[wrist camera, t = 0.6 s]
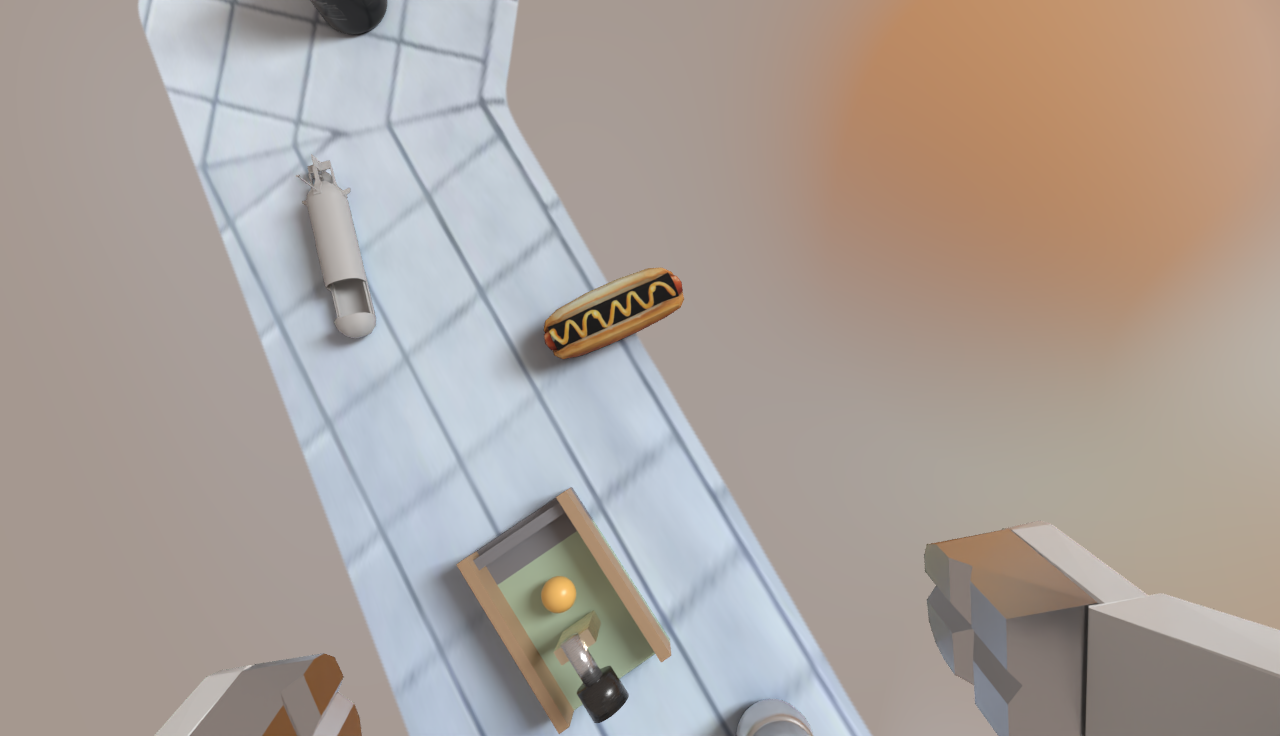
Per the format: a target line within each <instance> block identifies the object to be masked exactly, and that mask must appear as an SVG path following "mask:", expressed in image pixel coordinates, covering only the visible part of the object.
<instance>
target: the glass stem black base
mask: <svg viewBox="0 0 1280 736" xmlns="http://www.w3.org/2000/svg"><path fill="white" fill-rule="evenodd" d="M600 625H601V621H600V619H599V618H598V616H597V614H596V613H595V611H594V610H593V611H592V612H590V613H589V614H587V615H586V616H585V617H583V618H582V619H580V620H579V621H577V622H576V623H574V624H573V625H571V626H570V627H569V628H567V629H566V630H564V631H563V632H562V635H561V637H560V639H559V641H558V643H557V646H556V648H555V650H554V652H553V653H554V654H555V656H556V658H557V659H558V661H559V662H560V664H561V666H562V665H564V664H565V663H567V662H568V661H570V663H571V664H572V666H573V668H574V669H575V671H576V672H577V674H578V676H579V677H580V679H581V681H582V682H583V684H582V685H581V686H580V687H579V689H578V690H577V695H578V697H579V698H580V700H581V702H582V703H583V705H584V707H585V708H586V710H587V711H588V713H589V715H590V716H591V718H592V720H593V721H594V723H600V722H602V721H604V720H606V719H608V718H609V717H611V716H612V715H613V714H615V713H616V712H617V711H618V710H619V709H620V708H621V707H622V706H623V705H624V703H625V702H626V700H627V699H628V696H629V695H628V692H627V691H626V689H625V688H624V686H623V685H622V683H621V681H620V680H619V678H618V677H617V675H616V673H615V672H614V670H613V669H612V667H611V666H606V667H603V668H602V669H600V668H599V666H598V665H597V663H596V662H595V660H594V658H593V657H592V655H591V654H590V652H589V650H588V649H587V648H588V647H590V646H591V645H593V644H594V643H596V640H597V637H598V633H599V629H600Z"/></svg>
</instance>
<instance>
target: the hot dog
mask: <svg viewBox="0 0 1280 736" xmlns="http://www.w3.org/2000/svg"><path fill="white" fill-rule="evenodd" d="M683 300H684V297H683V292H682V283H681V281H680V280H679V278H678V277H677V276H674V275H673V273H672V272H670V271H668V270H665V269H663V268H648V269H645V270H642V271H640V272H637V273H634V274H631V275H628V276H625V277H622V278H619V279H617V280H614V281H612V282H610V283H608V284H605V285H603V286H601V287H599V288H597V289H594V290H592V291H590V292H588V293H586V294H584V295H582V296H580V297H578V298H577V299H575V300H573V301H571V302H570V303H568V304H566V305H564V306H563V307H561V308H559V309H557V310H556V311H555V312H554V313H553V314H552V315H551V316H550V317H549V318H548V319H547V320H546V322H545V326H544V332H545V334H544V338H545V344H546V345H547V346H548V347H549V348H550V349H551V350H553V352H554V355H555V356H557V357H559V358H562V359H566V358H572V357H577V356H581V355H584V354H587V353H589V352H592V351H594V350H597V349H599V348H602V347H605V346H607V345H610V344H612V343H614V342H616V341H619V340H621V339H623V338H625V337H627V336H630V335H632V334H634V333H636V332H638V331H640V330H642V329H644V328H646V327H648V326H650V325H652V324H654V323H656V322H658V321H659V320H661V319H663V318H665V317H667V316H668V315H670V314H671V313H673V312H674V311H676V310H677V309H679V308H680V307H681V305H682V302H683Z"/></svg>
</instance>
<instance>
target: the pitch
mask: <svg viewBox="0 0 1280 736" xmlns="http://www.w3.org/2000/svg"><path fill="white" fill-rule="evenodd" d="M456 565H457V566H458V568H459V570H460V571H461V573H462V575H463V576H464V578H465V580H466V581H467V583H468V585H469V586H470V588H471V590H472V591H473V593H474V595H475V596H476V598H477V599H478V601H479V603H480V604H481V606H482V608H483V609H484V611H485V613H486V614H487V616H488V618H489V619H490V621H491V623H492V624H493V626H494V628H495V629H496V631H497V632H498V634H499V636H500V637H501V639H502V641H503V642H504V644H505V646H506V647H507V649H508V651H509V652H510V654H511V656H512V657H513V659H514V661H515V662H516V664H517V665H518V667H519V669H520V670H521V672H522V674H523V675H524V677H525V679H526V680H527V682H528V684H529V685H530V687H531V689H532V690H533V692H534V694H535V695H536V697H537V698H538V700H539V702H540V703H541V705H542V707H543V708H544V710H545V712H546V713H547V715H548V717H549V718H550V720H551V722H552V723H553V725H554V727H555V728H556V730H557V731H558V733H559V734H560V733H561V732H563V731H564V730H566V729H567V728H568V727H570V723H571V719H572V716H573V712H574V710H575V709H577V708H578V707H579V706H581V705H582V704H583V703H582V702H581V700H580V698H579V697H578V695H577V690H578V689H579V687H580V686H581V685H582V684H583V682H582V681H581V679H580V677H579V676H578V674H577V672H576V671H575V669H574V668H573V666H572V664H571V663H570V661H568V662H567V663H565V664H564V665H562V666H561V664H560V662H559V661H558V659H557V658H556V656H555V654H554V653H553V652H554V650H555V648H556V646H557V643H558V641H559V639H560V637H561V635H562V632H563V631H564V630H566V629H567V628H569V627H570V626H571V625H573V624H574V623H576V622H577V621H579V620H580V619H582V618H583V617H585V616H586V615H587V614H589V613H590V612H592V611H593V610H594V611H595V613H596V614H597V616H598V618H599V619H600V621H601V625H600V629H599V633H598V637H597V640H596V643H594V644H593V645H591V646H590V647H588V648H587V649H588V650H589V652H590V654H591V655H592V657H593V658H594V660H595V662H596V663H597V665H598V666H599V668H600V669H602V668H603V667H606V666H611V667H612V669H613V670H614V672H615V673H616V675H617V677H618V678H621V677H622V676H624V675H625V674H627V673H628V672H629V671H631V670H632V669H634V668H635V667H637V666H638V665H639V664H641V663H642V662H644V661H645V660H647V659H648V658H650V657H651V656H652V655H654V654H656V655H657V657H658V658H659V660H660V661H661V662H663V661H664V660H665V659H667V658H668V657H670V656H671V648H670V639H669V638H668V636H667V635H666V633H665V631H664V630H663V628H662V627H661V625H660V624H659V622H658V621H657V619H656V617H655V616H654V614H653V613H652V611H651V610H650V608H649V607H648V605H647V603H646V602H645V600H644V599H643V597H642V596H641V594H640V593H639V591H638V589H637V588H636V586H635V585H634V583H633V582H632V580H631V579H630V577H629V575H628V574H627V572H626V571H625V569H624V568H623V566H622V565H621V563H620V561H619V560H618V558H617V557H616V555H615V554H614V552H613V551H612V549H611V547H610V546H609V544H608V543H607V541H606V540H605V538H604V536H603V535H602V533H601V532H600V530H599V529H598V527H597V526H596V524H595V522H594V521H593V519H592V518H591V516H590V515H589V513H588V512H587V510H586V508H585V507H584V505H583V504H582V502H581V501H580V499H579V498H578V496H577V494H576V493H575V491H574V490H573V488H572V487H571V488H570V489H568V490H566V491H565V492H563V493H562V494H560V495H559V496H557V497H556V498H555V499H553V500H552V501H550V502H549V503H548V504H546V505H545V506H543V507H542V508H540V509H539V510H537V511H536V512H534V513H533V514H531V515H530V516H528V517H527V518H525V519H524V520H522V521H521V522H519V523H518V524H516V525H515V526H513V527H512V528H510V529H509V530H507V531H506V532H504V533H503V534H502V535H500V536H499V537H497V538H496V539H494V540H493V541H491V542H490V543H488V544H487V545H485V546H484V547H482V548H481V549H479V550H478V551H476V552H475V553H473V554H472V555H470V556H468V557H467V558H465V559H464V560H462V561H461V562H459V563H458V564H456ZM556 576H564V577H566V578H568V579H570V580H571V581H572V582H573V584H574V586H575V588H576V599H575V602H574V604H573V605H572V607H571V608H570V609H569V610H567V611H565V612H563V613H553V612H550V611H549V610H547V609H546V608H545V606H544V605H543V603H542V600H541V591H542V588H543V586H544V584H545V583H546V582H547V581H548V580H549V579H551V578H553V577H556Z"/></svg>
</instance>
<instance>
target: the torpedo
mask: <svg viewBox="0 0 1280 736" xmlns="http://www.w3.org/2000/svg"><path fill="white" fill-rule="evenodd" d="M311 157H312V161H313V165H311V166H308V171H309V174H308V175H309V179H310V183H311V185H310V184H309V183H308V182H306V181H305V180H304V179H302V178H301V177H300V175H296V177H299V178H300V179H301V180H303V181H304V182H305V183H307V184H308V185H309V186H311V190H310V191H309V193H308V194H307V201H302V203H303V204H304V205H307V207H308V211H309V215H310V220H311V224H312V228H313V233H314V237H315V242H316V248H317V252H318V257H319V261H320V266H321V270H322V274H323V279H324V283H325V287H326V289H327V290H329V291H331V292H332V296H333V300H334V305H335V309H336V313H337V318H338V319H336V320H335V321H334V323H335V325H336V327H337V329H338V330H339V331H340V332H341V333H342V334H344V335H345V336H347V337H350V338H361V337H364V336H366V335H369V334H371V333H372V331H373V329H374V328H375V326H376V316H375V312H374V307H373V303H372V299H371V295H370V291H369V286H368V282H367V278H366V274H365V270H364V266H363V261H362V257H361V253H360V249H359V245H358V240H357V236H356V232H355V228H354V224H353V220H352V215H351V211H350V207H349V203H348V200H347V198H348V197H347V194H348V193H350V188H348V189H345V190H342V189H341V188H339V187H338V186H337V183H336V180H335V176H334V172H333V169H332V167H331V163H330V160H329V161H325V162H320V161H318V159H316V158H315V157H314V156H313V155H311ZM318 162H319V163H318ZM327 169H330V170H331V174H332V176H331V175H330V174H329V173H327V172H326V170H327ZM320 171H321V172H322V174H321V175H318V172H320ZM313 173H314V176H313V177H312V176H311V174H313ZM312 178H315V184H314V185H313V181H312Z"/></svg>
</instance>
